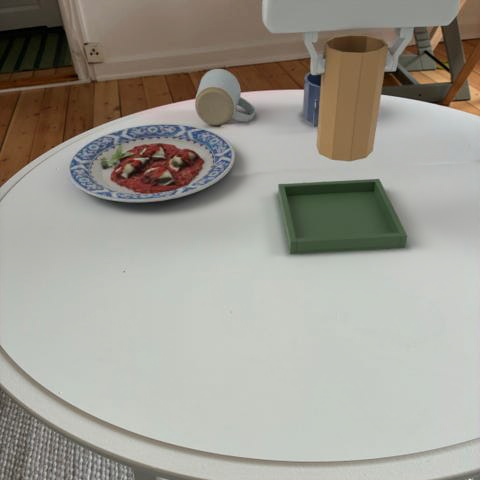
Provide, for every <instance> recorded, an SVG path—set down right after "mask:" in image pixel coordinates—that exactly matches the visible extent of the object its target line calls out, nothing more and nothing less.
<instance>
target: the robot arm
mask: <svg viewBox="0 0 480 480" xmlns="http://www.w3.org/2000/svg"><path fill="white" fill-rule="evenodd" d="M460 7H461V0H262V4H261V19H262V24H263V25H264V27H265V28H266V29H267V31H268V32H269V33H270V34H290V33H292V34H293V33H301V38H302V41H303V43H304V45H305V47H306V49H307V51H308V53H309V56H310V65H309V68H310V72H311V74H312V75H321V74H325V65H326V58H325V56H324V54H323V53H317V50H316V48H315V46H314V44H313V43H318V39H319V32H332V31H333V32H336V31H358V30H359V31H360V30H381V29H394V33H395V35H397V36H396V37H395V40H394V41H393V42H392V44H391V46H390V47H389V48H388V50H387V57H386V64H385V71H384V73H385V72H396V71H397V69H398V63H399V57H400V56H401V55H402V53H403V52H404V50H405V48H406V47H408V45H409V43H410V42H411V41H412V39H413V37H414V36H413V35H414V30H415V28H423V27H442V26H443V27H445V26H449V25H450V24H451V23H452V22H453V21H454V20H455V18H456V17H457V16H458V14H459V11H460Z"/></svg>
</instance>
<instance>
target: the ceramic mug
mask: <svg viewBox="0 0 480 480" xmlns="http://www.w3.org/2000/svg"><path fill="white" fill-rule="evenodd" d="M241 93H242V90H241V84H240V83H239V80H238V79H237V77H236V76H235V75H234V74H233V73H231V72H230V71H229V70H226V69H224V68H214V69H211V70H209V71H207V72H205V73H204V75H203V76H202V77H201V80H200V82H199V86H198V89H197V93H196V95H195V98H194V99H195V100H194V107H195V108H194V109H195V112H196V114H197V116H198V117H199V118H200V119H201V121H202V122H204V123H205V124H208V125H209V126H215V127H216V126H221V125H224V124H226V123H228V122H229V121H230V120H231V119H233V120H235V121H238V122H242V123H247V122H250V121H252V120H253V119H254V118H255V116H256V114H257V111H256V108H255V106H254V105H253V104H251V102H249V101H248V100H247V99H245V98H243V97H242V96H241ZM238 106H239V107H240V108H242V109H243V110H244V111H246V112H247V113H249V114H245V113H243V112H240V111H238V110H237V107H238Z"/></svg>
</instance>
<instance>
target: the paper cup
mask: <svg viewBox="0 0 480 480" xmlns="http://www.w3.org/2000/svg"><path fill="white" fill-rule="evenodd" d="M388 50H389V44H388V43H387V42H386V41H385V40H384V39H383V38H379V37H376V36H372V35H368V34H344V35H338V36H332V37H330V38H328V39H327V40H326V41H324V42H323V50H322V54H324V56H325V58H326V65H325V74H322V76H321V90H320V104H319V119H318V126H317V133H316V148H317V151H318V154H319V155H321V156H323V157H325V158H327V159H329V160H332V161H340V162H341V161H342V162H353V161H359V160H364V159H367V158H368V157H369V155H371V154H372V153H373V152H374V145H375V138H376V133H377V124H378V117H379V110H380V104H381V98H382V90H383V83H384V77H385V72H384V71H385V64H386V57H387V51H388Z"/></svg>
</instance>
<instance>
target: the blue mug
mask: <svg viewBox="0 0 480 480" xmlns="http://www.w3.org/2000/svg"><path fill="white" fill-rule="evenodd" d="M321 76H322V74H321V75H312V74H311V71H309V72H307V74H305V75H304V79H303V97H302V98H303V99H302V117H303V118H304V119H305V121H307V122H309V123H311V124H312V126H313V128H318V119H319V104H320V90H321Z"/></svg>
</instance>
